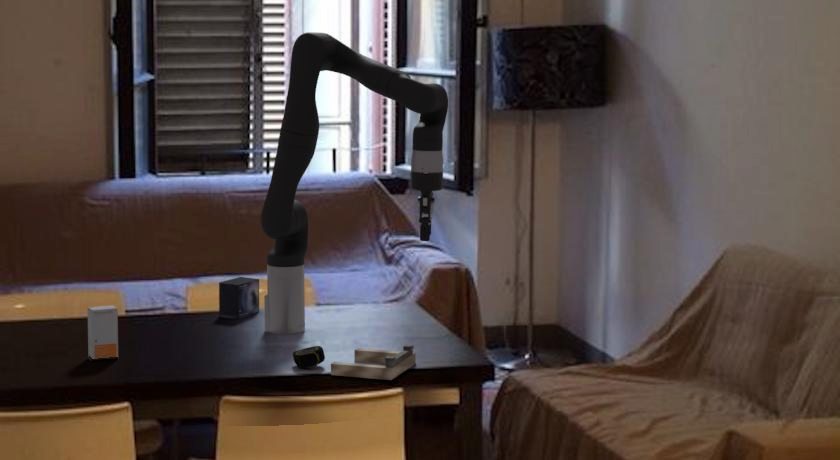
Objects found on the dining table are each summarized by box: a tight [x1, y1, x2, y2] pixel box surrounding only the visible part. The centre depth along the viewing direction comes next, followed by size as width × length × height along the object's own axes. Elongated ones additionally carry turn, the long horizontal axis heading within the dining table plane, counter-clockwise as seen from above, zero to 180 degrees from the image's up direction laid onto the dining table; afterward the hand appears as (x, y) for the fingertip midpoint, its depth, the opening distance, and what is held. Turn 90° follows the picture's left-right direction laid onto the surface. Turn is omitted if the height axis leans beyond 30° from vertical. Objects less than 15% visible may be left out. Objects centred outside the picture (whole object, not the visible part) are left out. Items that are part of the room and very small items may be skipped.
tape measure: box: [292, 345, 326, 369], centre depth 289 cm, size 7×7×4 cm
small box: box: [218, 276, 260, 320], centre depth 341 cm, size 11×6×10 cm, turn 155°
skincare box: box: [87, 304, 119, 359], centre depth 296 cm, size 6×4×12 cm
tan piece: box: [330, 344, 416, 381], centre depth 287 cm, size 14×16×4 cm
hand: (425, 238), depth 304 cm, fingers open, 8 cm apart
